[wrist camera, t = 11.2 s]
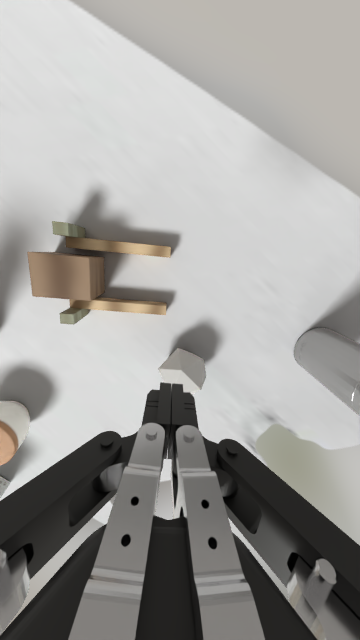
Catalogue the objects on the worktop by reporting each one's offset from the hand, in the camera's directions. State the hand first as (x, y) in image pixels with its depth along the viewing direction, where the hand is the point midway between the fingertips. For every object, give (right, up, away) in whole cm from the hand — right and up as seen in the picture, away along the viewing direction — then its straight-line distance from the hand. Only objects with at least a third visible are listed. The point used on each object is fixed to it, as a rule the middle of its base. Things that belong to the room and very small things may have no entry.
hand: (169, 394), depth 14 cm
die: (+1, -3, +28) cm, 28 cm away
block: (-16, +13, +22) cm, 30 cm away
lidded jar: (-34, -14, +30) cm, 47 cm away
